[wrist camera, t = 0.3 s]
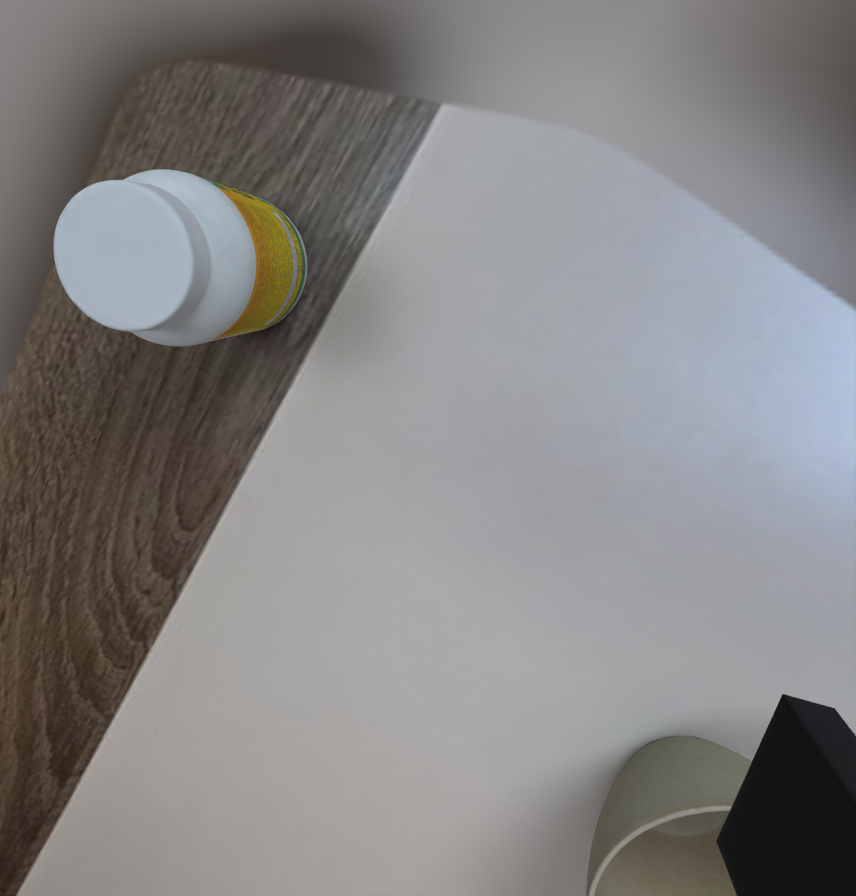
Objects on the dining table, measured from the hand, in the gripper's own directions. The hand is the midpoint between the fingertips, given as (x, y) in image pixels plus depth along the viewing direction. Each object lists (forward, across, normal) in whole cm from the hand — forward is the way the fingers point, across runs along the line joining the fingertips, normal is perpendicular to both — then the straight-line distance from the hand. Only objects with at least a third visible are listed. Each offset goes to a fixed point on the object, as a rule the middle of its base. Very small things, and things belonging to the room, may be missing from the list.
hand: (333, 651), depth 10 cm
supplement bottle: (+19, -9, +4) cm, 21 cm away
